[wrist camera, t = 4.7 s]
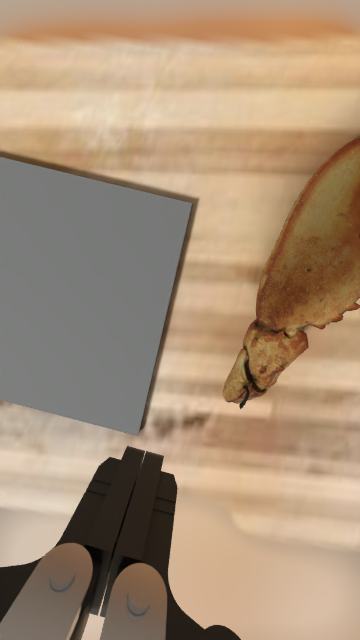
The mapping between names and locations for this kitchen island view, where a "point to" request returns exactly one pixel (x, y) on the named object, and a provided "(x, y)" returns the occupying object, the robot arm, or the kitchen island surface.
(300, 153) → the kitchen island surface
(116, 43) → the kitchen island surface
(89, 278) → the mat
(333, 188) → the crab claw
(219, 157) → the kitchen island surface
